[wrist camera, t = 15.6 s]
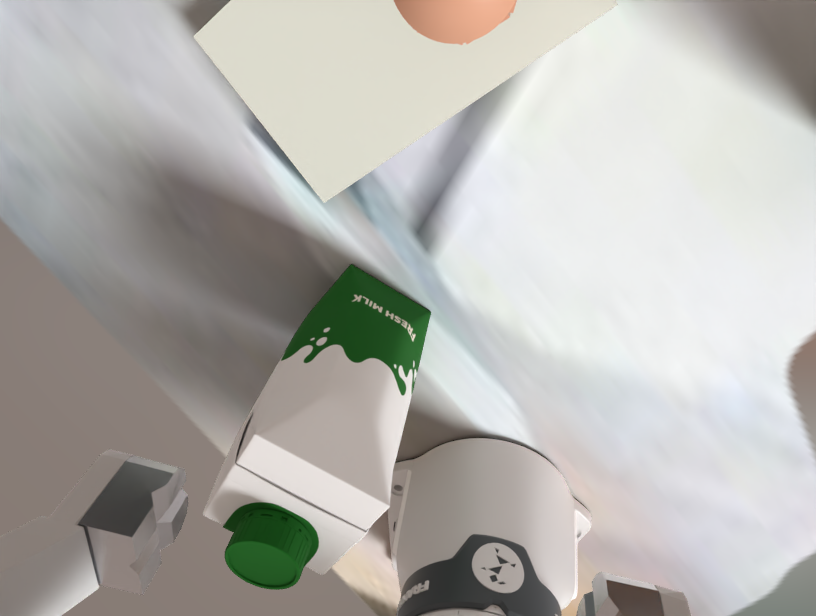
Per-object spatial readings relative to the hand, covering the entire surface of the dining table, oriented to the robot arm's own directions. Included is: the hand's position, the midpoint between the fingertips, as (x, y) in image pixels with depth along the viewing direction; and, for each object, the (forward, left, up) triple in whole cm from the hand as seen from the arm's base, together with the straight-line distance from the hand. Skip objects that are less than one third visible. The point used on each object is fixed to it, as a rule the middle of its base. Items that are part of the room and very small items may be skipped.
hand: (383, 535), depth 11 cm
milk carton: (-16, +5, -29) cm, 34 cm away
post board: (+5, +6, -29) cm, 30 cm away
